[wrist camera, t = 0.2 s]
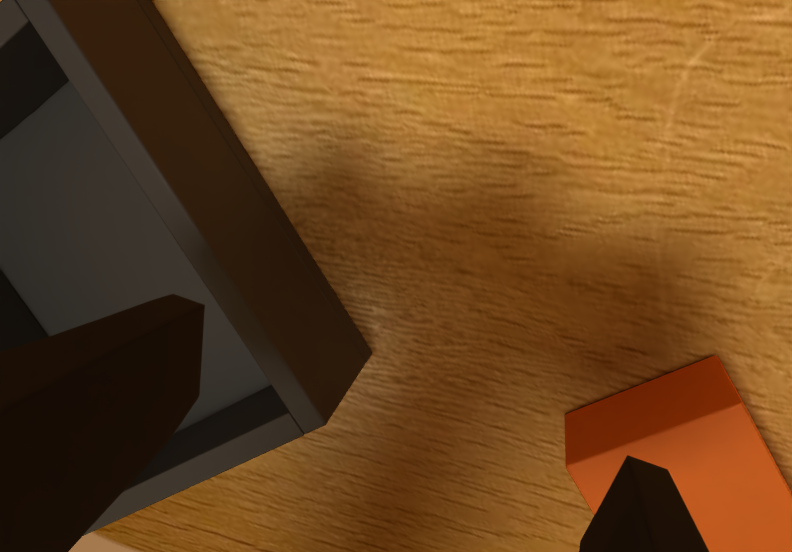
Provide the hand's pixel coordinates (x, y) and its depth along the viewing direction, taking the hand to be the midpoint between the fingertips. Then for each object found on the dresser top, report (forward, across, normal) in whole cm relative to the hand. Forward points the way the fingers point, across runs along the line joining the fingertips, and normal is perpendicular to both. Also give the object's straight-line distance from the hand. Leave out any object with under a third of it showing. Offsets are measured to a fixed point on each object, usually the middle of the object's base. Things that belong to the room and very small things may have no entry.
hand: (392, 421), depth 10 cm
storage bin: (+9, +11, +6) cm, 16 cm away
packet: (+9, -9, +7) cm, 15 cm away
